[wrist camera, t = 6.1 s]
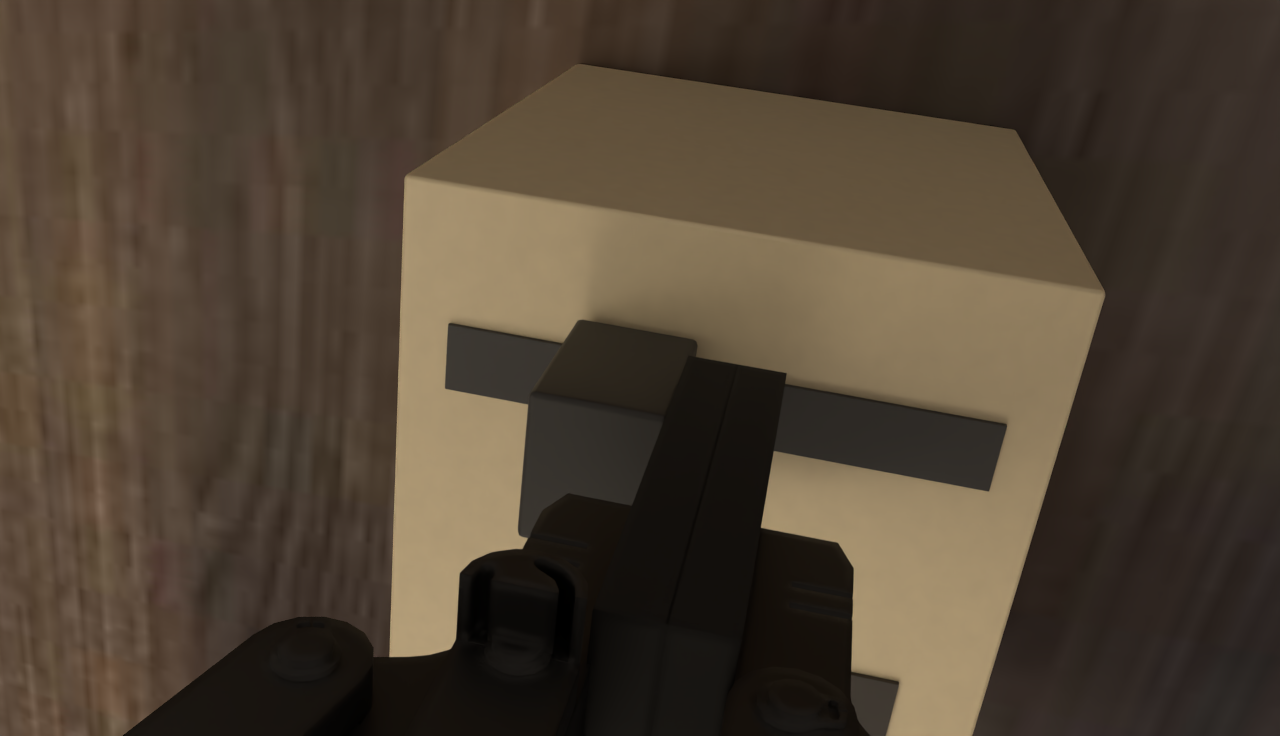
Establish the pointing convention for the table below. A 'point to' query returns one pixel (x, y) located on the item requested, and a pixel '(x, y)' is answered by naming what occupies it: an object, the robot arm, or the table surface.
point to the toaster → (758, 342)
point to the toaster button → (597, 415)
